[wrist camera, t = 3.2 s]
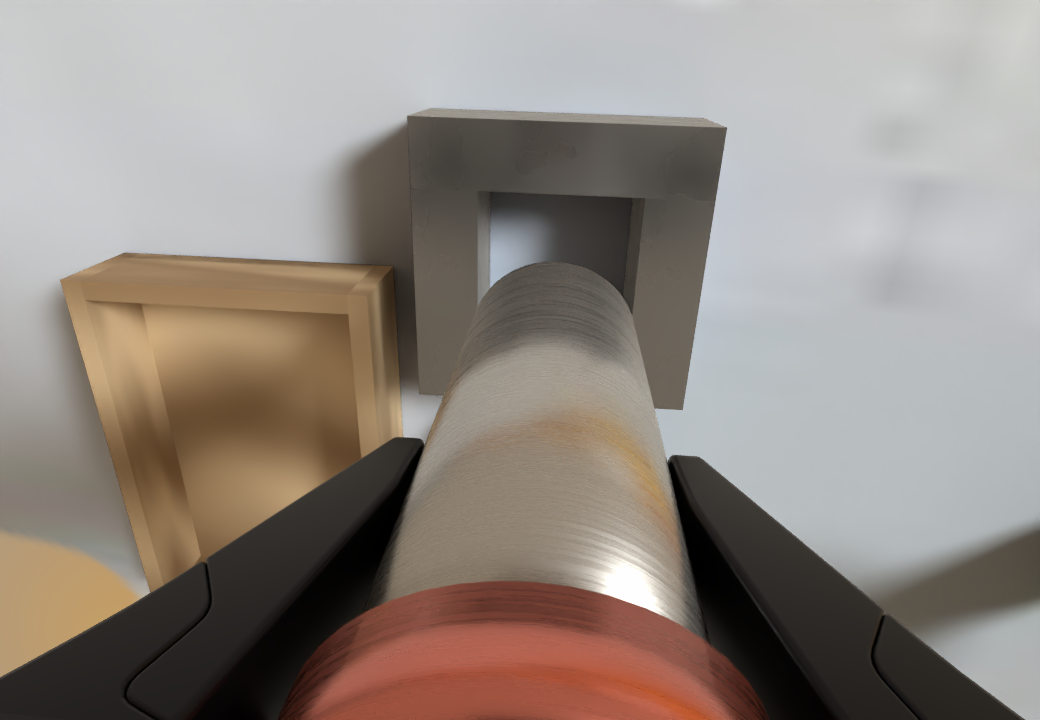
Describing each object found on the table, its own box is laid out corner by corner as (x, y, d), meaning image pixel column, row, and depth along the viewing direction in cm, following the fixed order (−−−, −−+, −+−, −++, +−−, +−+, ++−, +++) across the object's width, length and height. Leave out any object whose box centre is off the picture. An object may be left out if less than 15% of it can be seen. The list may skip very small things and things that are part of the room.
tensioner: (647, 514, 25) (657, 570, 22) (441, 500, 25) (426, 553, 22) (703, 118, 18) (727, 127, 16) (430, 108, 19) (407, 115, 16)
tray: (410, 571, 27) (392, 629, 24) (197, 555, 27) (155, 610, 24) (393, 266, 21) (366, 295, 18) (124, 252, 22) (60, 280, 19)
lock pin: (639, 430, 14) (764, 1109, 5) (457, 418, 14) (257, 1048, 5) (661, 251, 12) (917, 787, 3) (455, 241, 12) (148, 718, 3)
